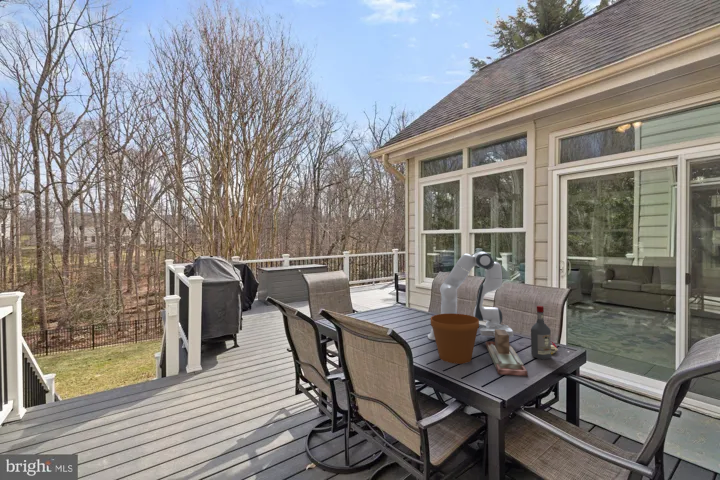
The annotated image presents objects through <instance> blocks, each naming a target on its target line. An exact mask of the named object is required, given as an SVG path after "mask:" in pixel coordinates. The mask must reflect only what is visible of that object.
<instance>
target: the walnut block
mask: <svg viewBox="0 0 720 480" xmlns="http://www.w3.org/2000/svg"><path fill="white" fill-rule="evenodd" d="M494 342H495V347H496V349H497V351H498V353H503V354H509V344H510V337H509V335H508V333H507V332H506V330H501V329H495V337H494Z"/></svg>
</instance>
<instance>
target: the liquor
mask: <svg viewBox="0 0 720 480" xmlns="http://www.w3.org/2000/svg"><path fill="white" fill-rule="evenodd" d="M544 310H545V307H544V306H543V305H536V317H537V318H536V322H535V323H534V324H533V325H532V326H531V329H530V346H531V347H530V348H531V350H530V351H531V353H530V354H531V356H532V357H534V358H536V359H538V360H548V359H551V357H552V354H551V345H552V340H551V339H552V337H551V336H552V335H551V333H552V332H551V331H552V330H551V328H550V327H549V326H548V325H547V324H546V323H545V320H544Z"/></svg>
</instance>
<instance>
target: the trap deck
mask: <svg viewBox="0 0 720 480" xmlns="http://www.w3.org/2000/svg"><path fill="white" fill-rule="evenodd" d="M485 346H486V348H487V351H488V353H489V356H490V357H491V360H492V363H493V364H494V367H495V369H496V371H497V374H498V375H503V376H504V375H505V376H520V377H528V370H527V368H526V367H525V366H524V363H523V362H522V360H521V358H520V357H519V355H518V354H517V352H516V351H515V349H514V348H513V346H511V344H510V343H509V354H503V353H498V351H497V349H496V347H495V341H492V340H491V341H490V340H489V341H487V340H486V341H485Z"/></svg>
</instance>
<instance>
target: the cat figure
mask: <svg viewBox="0 0 720 480" xmlns="http://www.w3.org/2000/svg"><path fill="white" fill-rule="evenodd" d="M557 347H558V346H557V345H556V344H555V343H554V342H553V341H551V355H553V354H555V353H556V352H557V351H559V348H557Z"/></svg>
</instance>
